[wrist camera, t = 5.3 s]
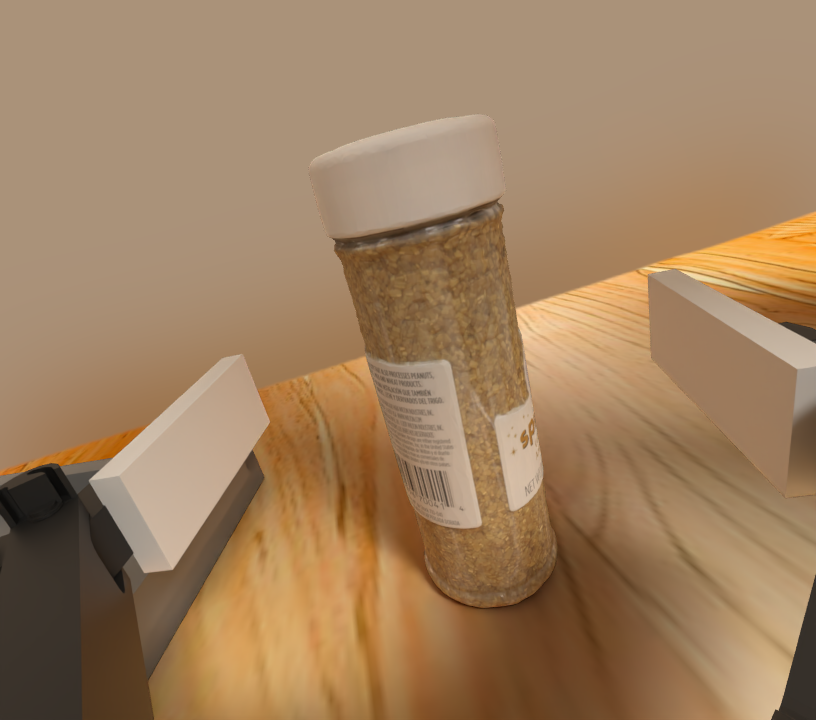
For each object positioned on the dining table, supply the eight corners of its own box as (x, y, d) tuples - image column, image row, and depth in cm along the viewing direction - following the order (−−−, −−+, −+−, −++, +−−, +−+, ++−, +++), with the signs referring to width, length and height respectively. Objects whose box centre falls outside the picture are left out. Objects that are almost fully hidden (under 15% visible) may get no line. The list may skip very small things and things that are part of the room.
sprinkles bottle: (590, 570, 15) (536, 94, 10) (462, 642, 14) (325, 142, 9) (508, 492, 19) (441, 127, 14) (405, 543, 18) (289, 163, 13)
